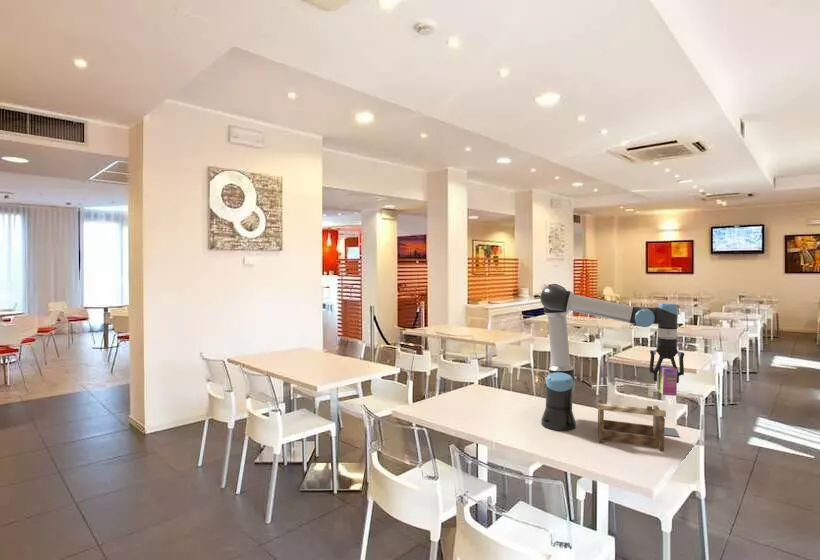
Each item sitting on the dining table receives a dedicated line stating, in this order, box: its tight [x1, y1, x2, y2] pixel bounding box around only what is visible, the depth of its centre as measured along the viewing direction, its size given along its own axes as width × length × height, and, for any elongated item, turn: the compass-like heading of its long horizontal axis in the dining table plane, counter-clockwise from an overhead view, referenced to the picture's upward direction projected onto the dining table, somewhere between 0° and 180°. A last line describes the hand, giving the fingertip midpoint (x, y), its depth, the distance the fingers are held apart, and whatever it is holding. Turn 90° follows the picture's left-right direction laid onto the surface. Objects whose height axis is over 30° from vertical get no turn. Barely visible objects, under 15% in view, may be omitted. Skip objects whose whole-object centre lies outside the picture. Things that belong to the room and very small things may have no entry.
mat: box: [664, 426, 680, 438], centre depth 211 cm, size 10×11×1 cm
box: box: [656, 363, 678, 397], centre depth 210 cm, size 10×6×12 cm, turn 168°
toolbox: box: [597, 399, 666, 452], centre depth 201 cm, size 24×20×13 cm
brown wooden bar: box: [597, 402, 667, 418], centre depth 195 cm, size 26×3×3 cm, turn 70°
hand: (665, 389), depth 210 cm, fingers closed on box, 6 cm apart
